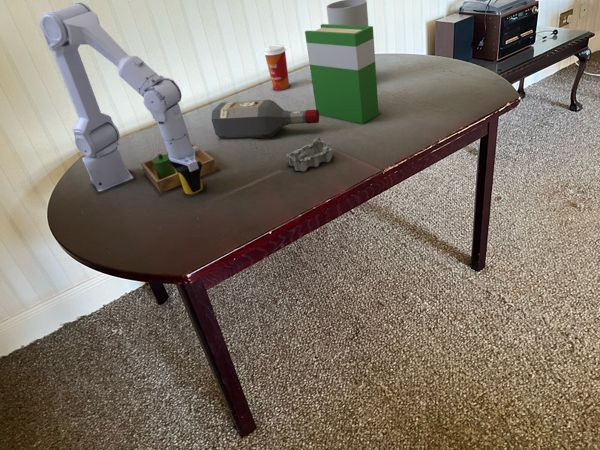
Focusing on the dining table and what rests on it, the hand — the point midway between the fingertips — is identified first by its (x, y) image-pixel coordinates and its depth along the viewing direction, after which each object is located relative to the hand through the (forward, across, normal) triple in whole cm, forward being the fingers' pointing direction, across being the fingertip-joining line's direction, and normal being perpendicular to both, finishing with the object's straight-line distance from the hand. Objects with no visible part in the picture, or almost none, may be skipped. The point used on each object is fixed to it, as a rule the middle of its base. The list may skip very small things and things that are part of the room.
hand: (192, 186), depth 113 cm
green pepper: (+1, +12, +3) cm, 12 cm away
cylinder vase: (+1, +27, -70) cm, 75 cm away
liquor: (-3, +26, -19) cm, 32 cm away
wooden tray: (+1, +12, -1) cm, 12 cm away
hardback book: (+2, +7, -52) cm, 52 cm away
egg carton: (+2, -10, -28) cm, 30 cm away
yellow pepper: (+1, 0, 0) cm, 1 cm away
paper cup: (+1, +46, -52) cm, 69 cm away
